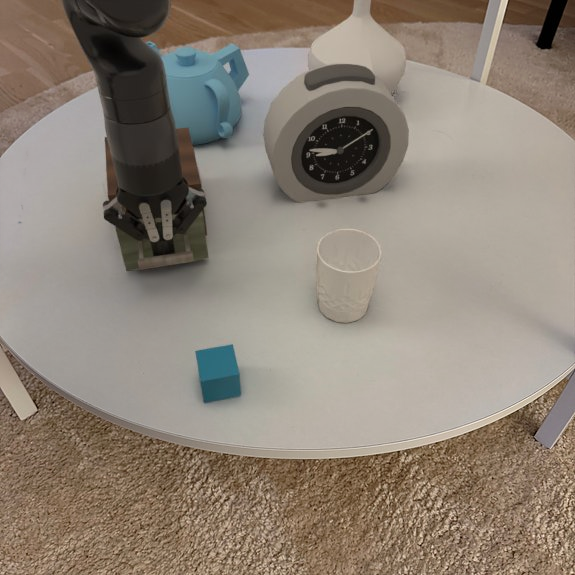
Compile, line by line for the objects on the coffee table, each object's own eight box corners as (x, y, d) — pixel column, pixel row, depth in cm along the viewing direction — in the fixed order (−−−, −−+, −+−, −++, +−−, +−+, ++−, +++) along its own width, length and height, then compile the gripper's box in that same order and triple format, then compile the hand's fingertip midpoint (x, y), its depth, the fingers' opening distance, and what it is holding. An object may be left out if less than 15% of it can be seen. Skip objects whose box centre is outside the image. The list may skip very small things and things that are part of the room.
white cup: (381, 297, 81) (392, 242, 74) (356, 336, 77) (364, 281, 69) (330, 275, 84) (335, 220, 77) (302, 311, 79) (305, 257, 72)
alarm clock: (272, 205, 95) (271, 89, 80) (263, 177, 100) (261, 63, 85) (400, 189, 98) (421, 74, 84) (385, 163, 103) (403, 50, 89)
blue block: (203, 403, 70) (200, 381, 66) (198, 372, 72) (195, 350, 69) (241, 396, 70) (239, 374, 67) (234, 366, 73) (232, 343, 70)
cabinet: (207, 235, 90) (201, 183, 83) (121, 248, 88) (107, 195, 81) (194, 178, 99) (188, 127, 92) (117, 188, 97) (104, 136, 90)
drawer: (213, 283, 82) (208, 240, 76) (128, 296, 80) (116, 253, 74) (196, 200, 94) (190, 158, 88) (121, 210, 92) (111, 168, 86)
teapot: (250, 100, 117) (247, 29, 107) (236, 157, 104) (230, 82, 94) (153, 95, 118) (141, 24, 108) (127, 150, 105) (110, 76, 95)
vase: (419, 99, 118) (437, -3, 104) (356, 133, 109) (367, 28, 95) (350, 66, 127) (358, -31, 113) (287, 96, 118) (288, -6, 104)
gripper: (83, 171, 63) (115, 284, 76) (207, 155, 66) (219, 267, 78) (82, 132, 68) (112, 245, 81) (198, 119, 71) (210, 230, 83)
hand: (165, 256), depth 80 cm, fingers closed
